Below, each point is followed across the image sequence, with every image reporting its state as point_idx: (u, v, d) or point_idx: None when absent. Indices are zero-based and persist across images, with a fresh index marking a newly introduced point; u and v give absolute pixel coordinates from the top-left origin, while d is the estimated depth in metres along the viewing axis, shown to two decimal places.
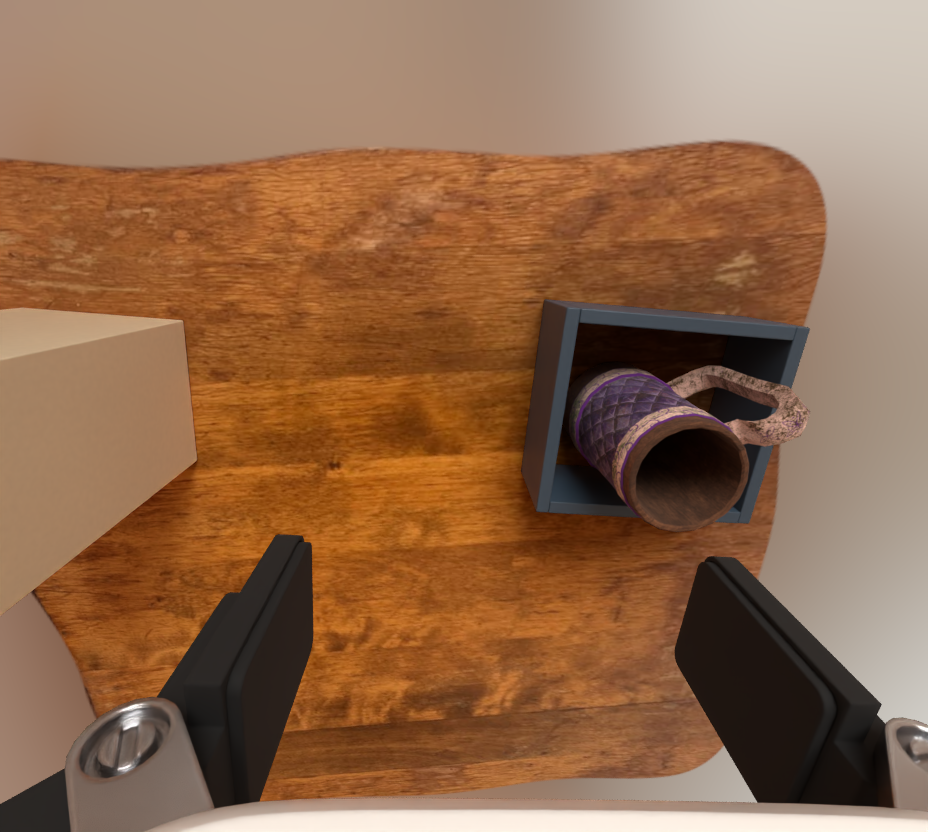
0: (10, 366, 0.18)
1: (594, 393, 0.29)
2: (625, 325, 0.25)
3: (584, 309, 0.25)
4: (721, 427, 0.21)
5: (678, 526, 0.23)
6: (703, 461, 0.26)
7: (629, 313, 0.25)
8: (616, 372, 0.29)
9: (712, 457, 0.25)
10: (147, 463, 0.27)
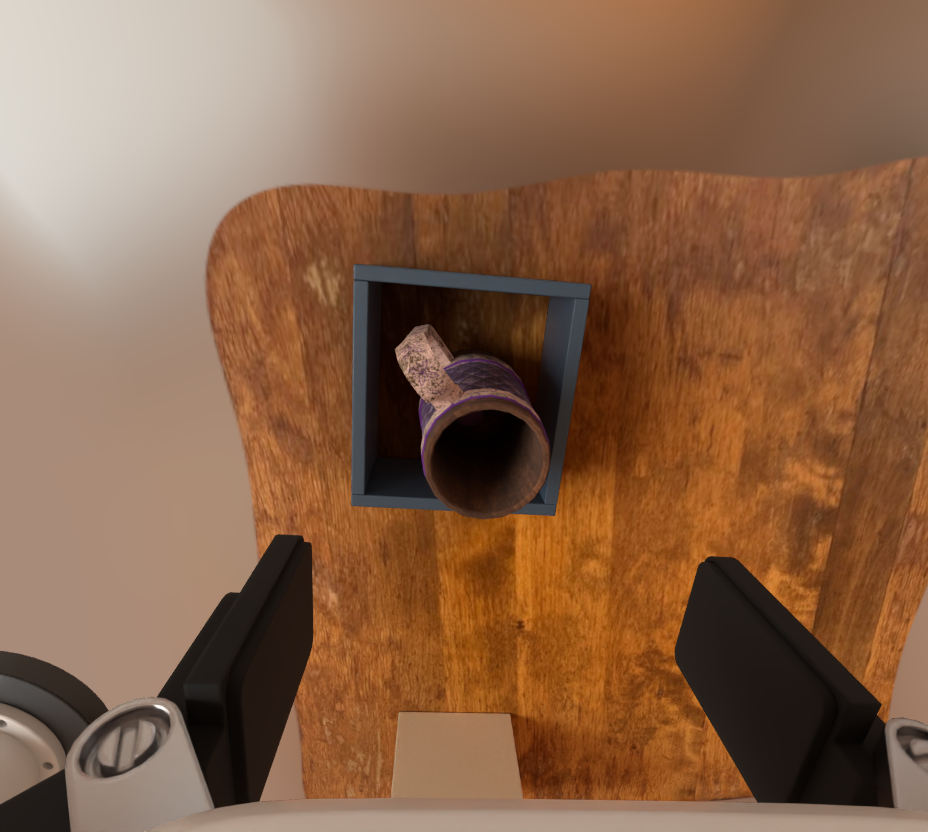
0: None
1: None
2: (364, 455, 0.27)
3: (352, 491, 0.28)
4: (429, 441, 0.21)
5: (543, 464, 0.22)
6: None
7: (352, 452, 0.27)
8: None
9: None
10: (492, 776, 0.36)
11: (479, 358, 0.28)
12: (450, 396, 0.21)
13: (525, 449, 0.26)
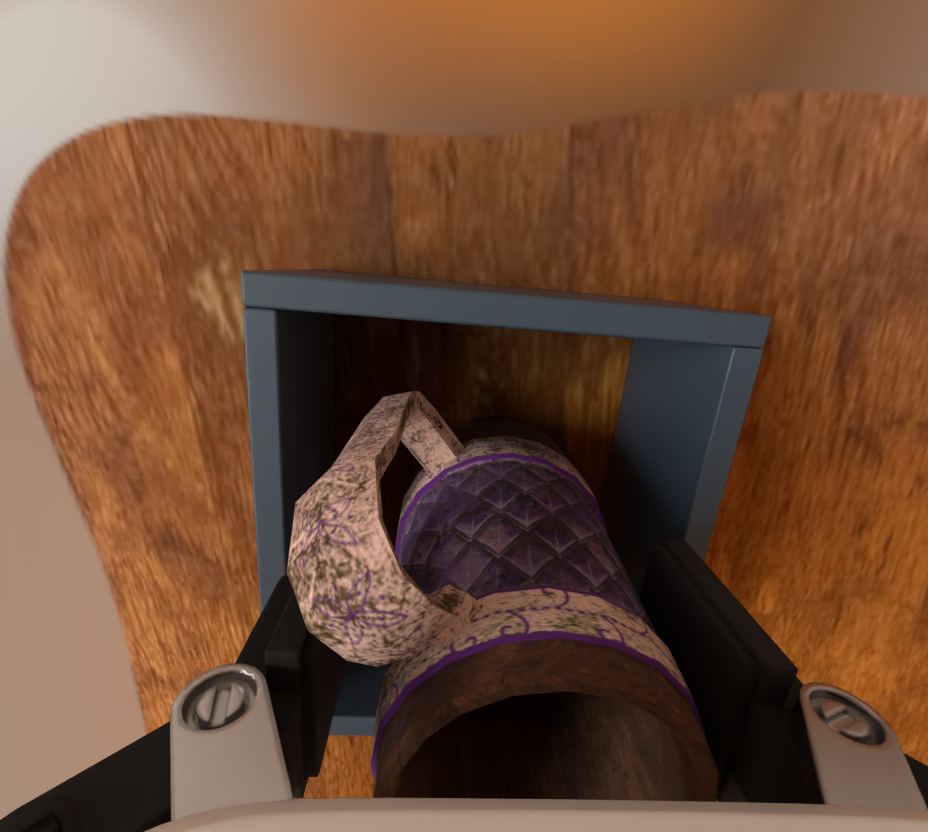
0: None
1: None
2: None
3: None
4: (387, 767, 0.07)
5: None
6: None
7: None
8: None
9: None
10: None
11: (512, 453, 0.14)
12: (446, 628, 0.08)
13: None
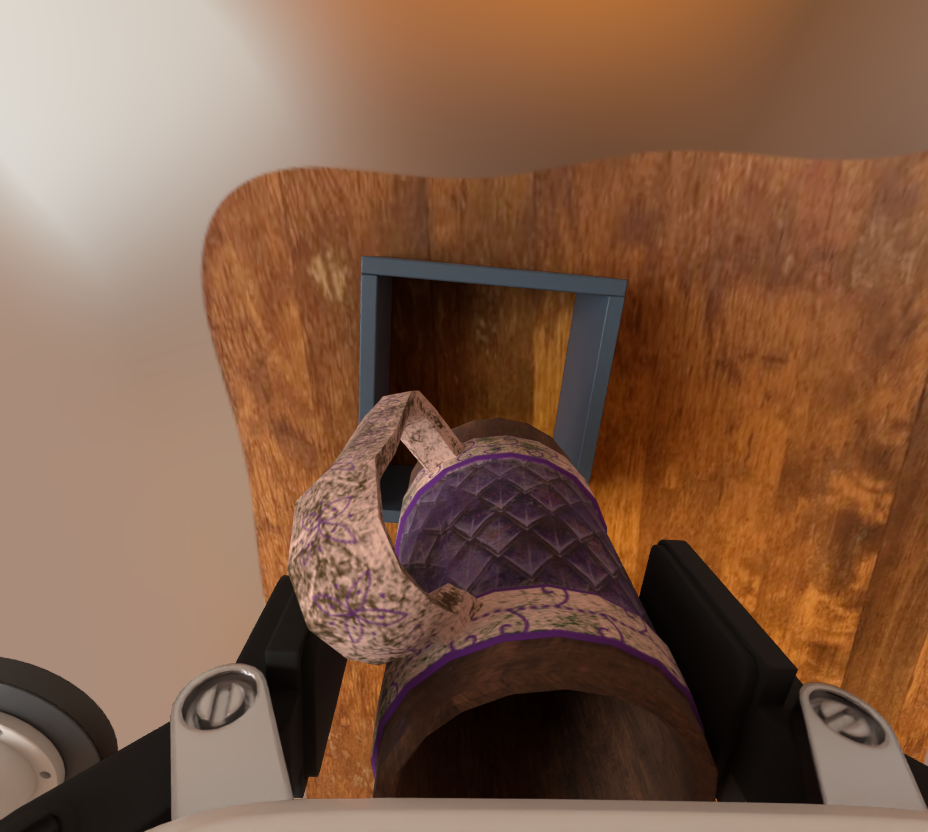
0: None
1: None
2: None
3: None
4: (387, 765, 0.07)
5: None
6: None
7: None
8: None
9: None
10: None
11: (512, 452, 0.14)
12: (446, 626, 0.08)
13: None
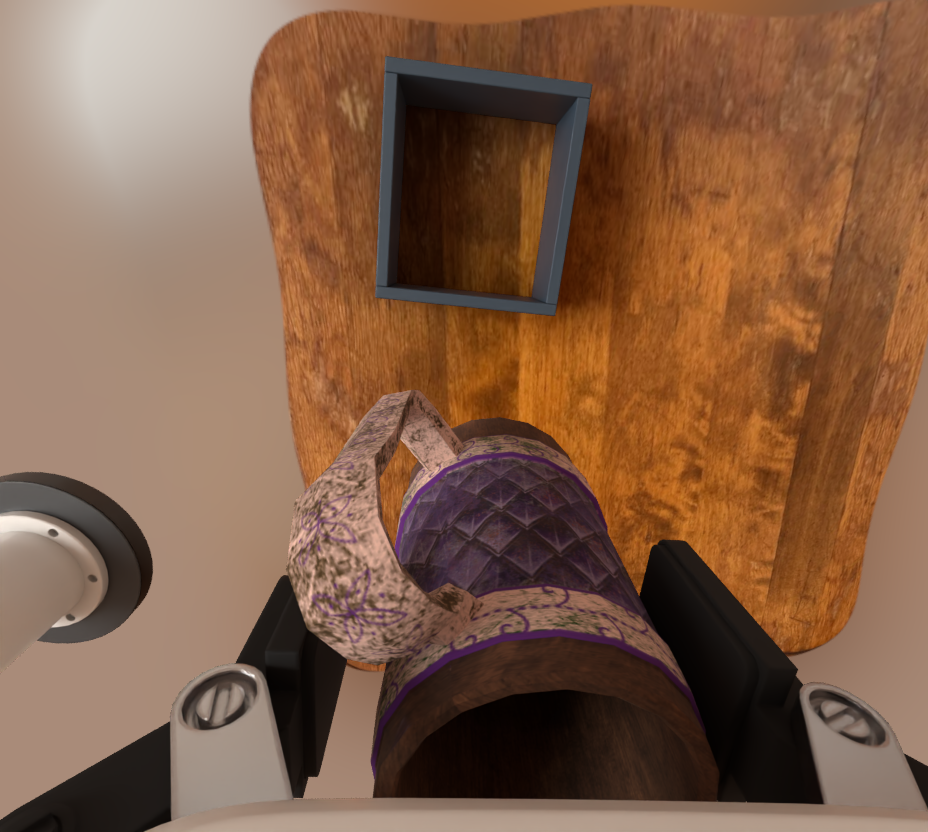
0: None
1: None
2: (388, 246, 0.31)
3: (376, 282, 0.31)
4: (387, 765, 0.07)
5: None
6: None
7: (378, 243, 0.31)
8: None
9: None
10: None
11: (512, 451, 0.14)
12: (447, 626, 0.08)
13: None
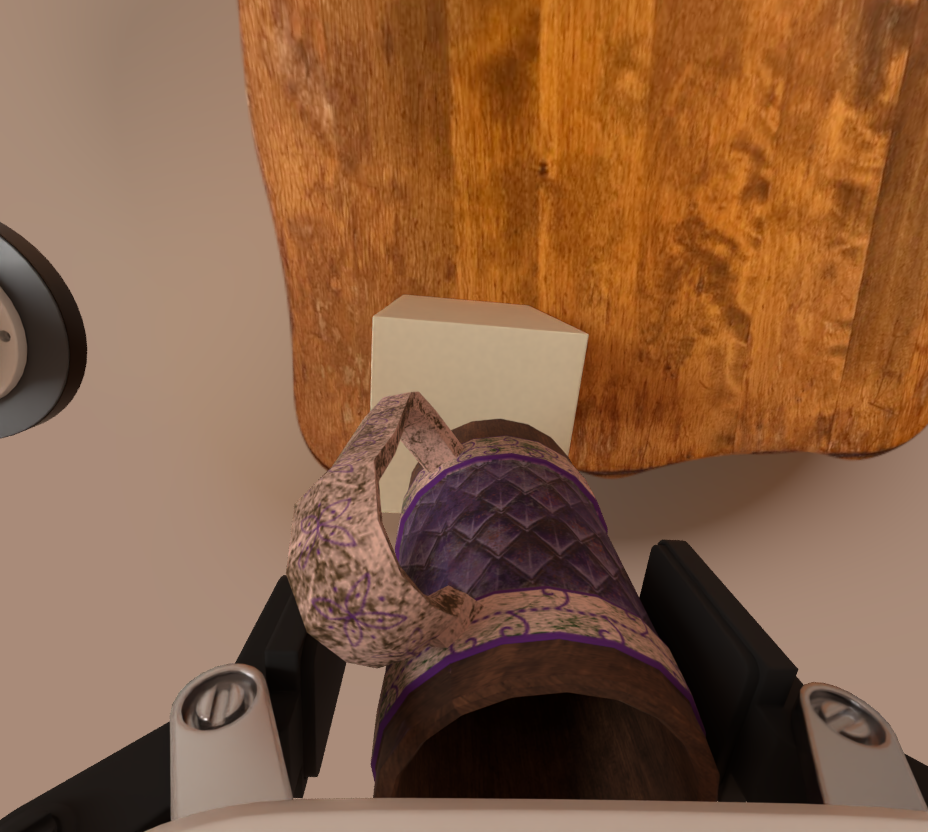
0: (388, 309, 0.24)
1: None
2: None
3: None
4: (387, 768, 0.07)
5: None
6: None
7: None
8: None
9: None
10: (511, 309, 0.31)
11: (512, 453, 0.14)
12: (446, 629, 0.08)
13: None
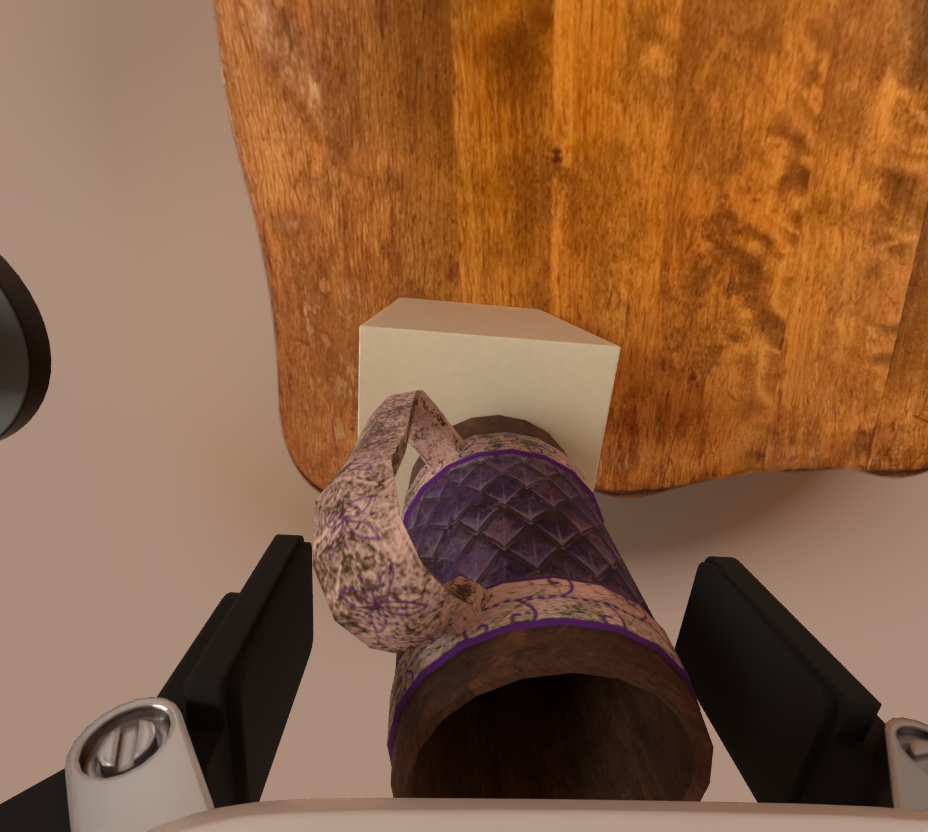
0: (380, 316, 0.20)
1: None
2: None
3: None
4: (405, 747, 0.08)
5: (693, 783, 0.09)
6: None
7: None
8: None
9: None
10: (521, 314, 0.28)
11: (512, 449, 0.15)
12: (460, 616, 0.08)
13: None
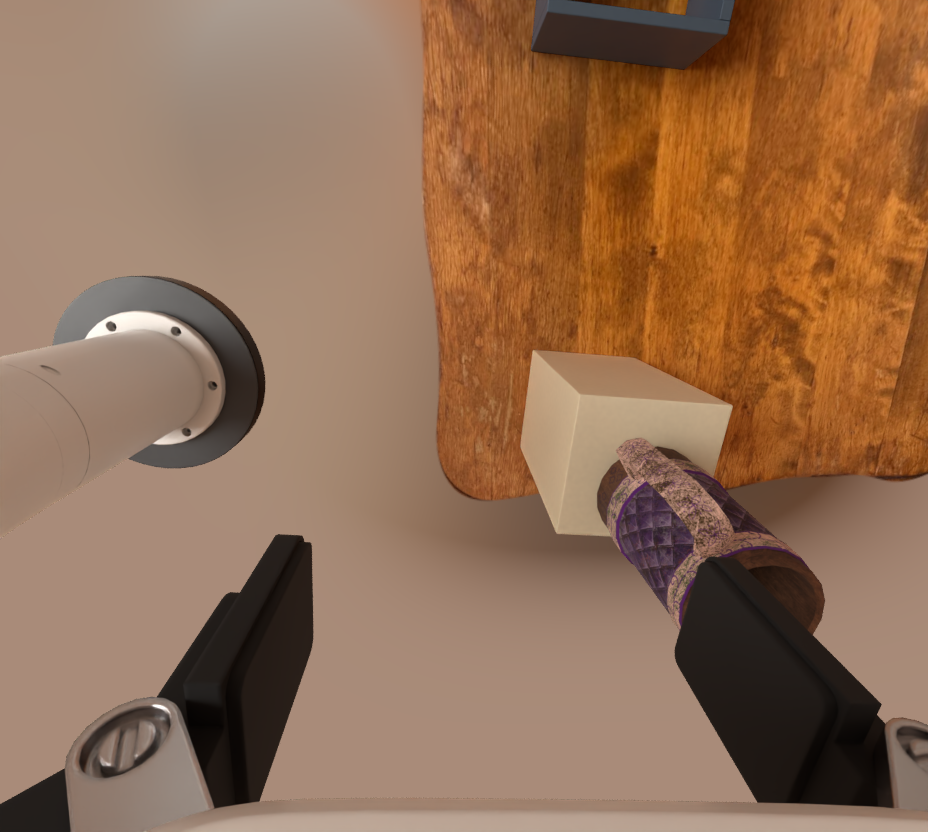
0: (571, 382, 0.32)
1: (632, 561, 0.28)
2: None
3: None
4: None
5: (815, 617, 0.20)
6: None
7: None
8: (611, 531, 0.28)
9: None
10: (634, 367, 0.39)
11: (686, 469, 0.26)
12: None
13: None
